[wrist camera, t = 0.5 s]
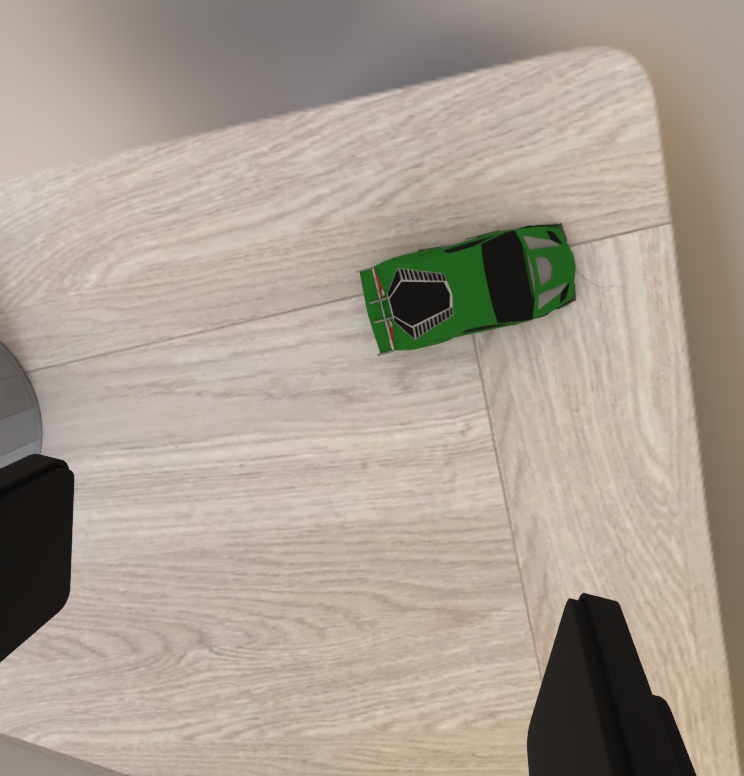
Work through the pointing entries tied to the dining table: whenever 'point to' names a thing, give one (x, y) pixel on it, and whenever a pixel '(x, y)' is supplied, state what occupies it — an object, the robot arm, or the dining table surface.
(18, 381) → the measuring cup
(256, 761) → the dining table surface
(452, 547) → the dining table surface
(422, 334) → the toy car
